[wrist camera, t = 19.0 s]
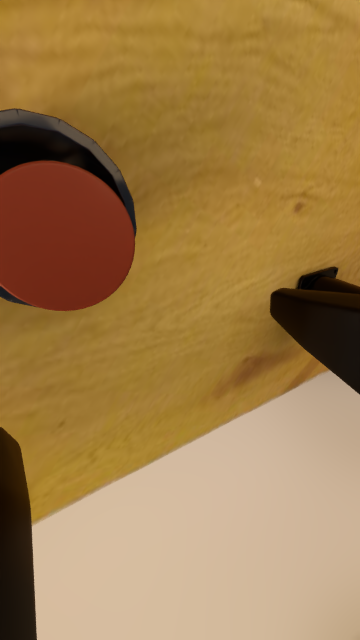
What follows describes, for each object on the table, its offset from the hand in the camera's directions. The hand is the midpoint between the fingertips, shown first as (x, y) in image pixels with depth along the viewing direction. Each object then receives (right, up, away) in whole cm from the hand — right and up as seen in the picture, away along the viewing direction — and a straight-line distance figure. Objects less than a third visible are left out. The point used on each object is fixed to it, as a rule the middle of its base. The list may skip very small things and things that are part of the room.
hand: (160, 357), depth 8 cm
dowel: (-7, +8, +7) cm, 13 cm away
